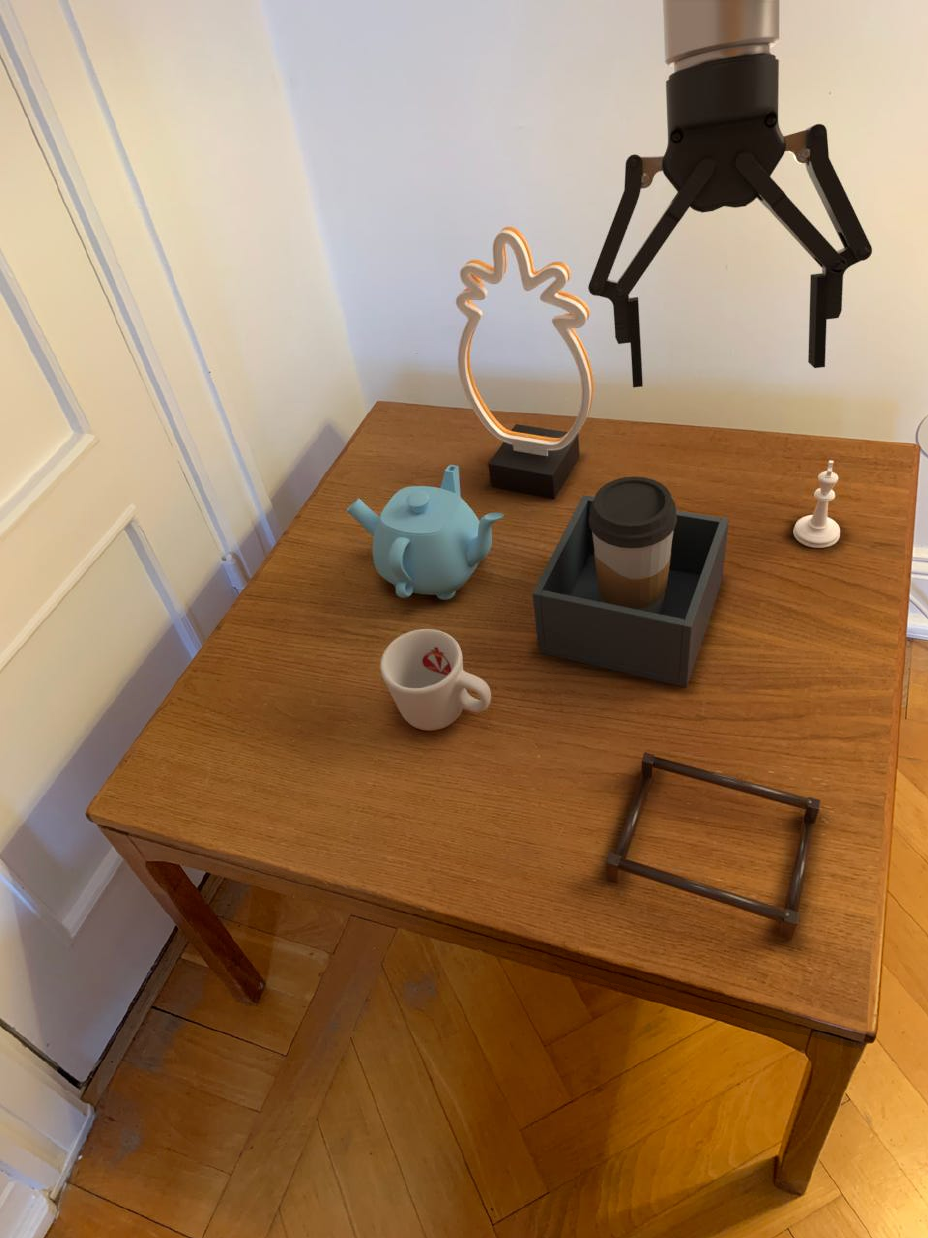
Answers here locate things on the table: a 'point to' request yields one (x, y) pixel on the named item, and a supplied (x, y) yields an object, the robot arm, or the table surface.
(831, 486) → the chess piece
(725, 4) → the robot arm
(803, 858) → the rectangular rod frame
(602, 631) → the grey open box
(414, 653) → the cup
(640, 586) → the coffee cup
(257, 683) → the table surface
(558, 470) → the lamp
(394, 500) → the teapot
